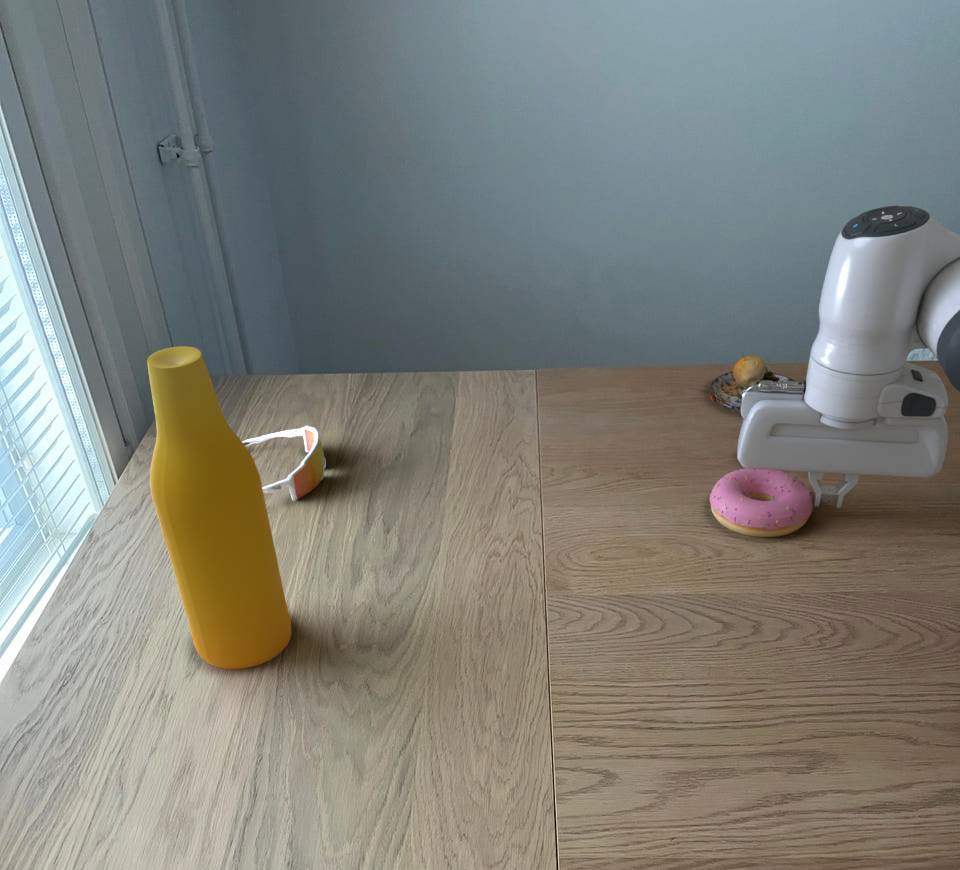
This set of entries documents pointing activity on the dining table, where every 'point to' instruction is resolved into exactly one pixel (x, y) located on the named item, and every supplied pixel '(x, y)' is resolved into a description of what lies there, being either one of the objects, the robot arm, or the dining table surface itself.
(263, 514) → the beer bottle
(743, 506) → the doughnut
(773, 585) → the dining table surface
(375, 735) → the dining table surface
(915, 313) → the robot arm
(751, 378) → the burger
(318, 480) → the sunglasses
